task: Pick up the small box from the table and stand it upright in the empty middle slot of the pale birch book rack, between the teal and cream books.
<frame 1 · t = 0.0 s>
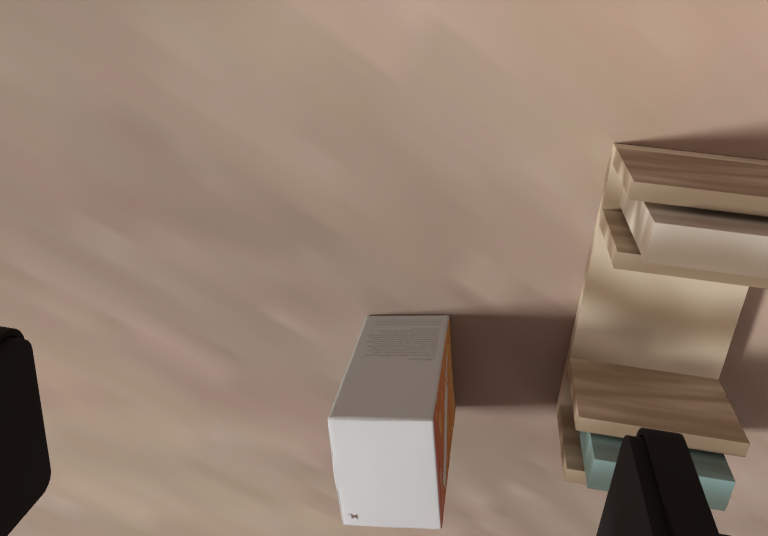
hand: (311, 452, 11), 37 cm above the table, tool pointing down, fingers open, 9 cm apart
small box: (412, 359, 53), on the table
book rack: (657, 296, 48), on the table
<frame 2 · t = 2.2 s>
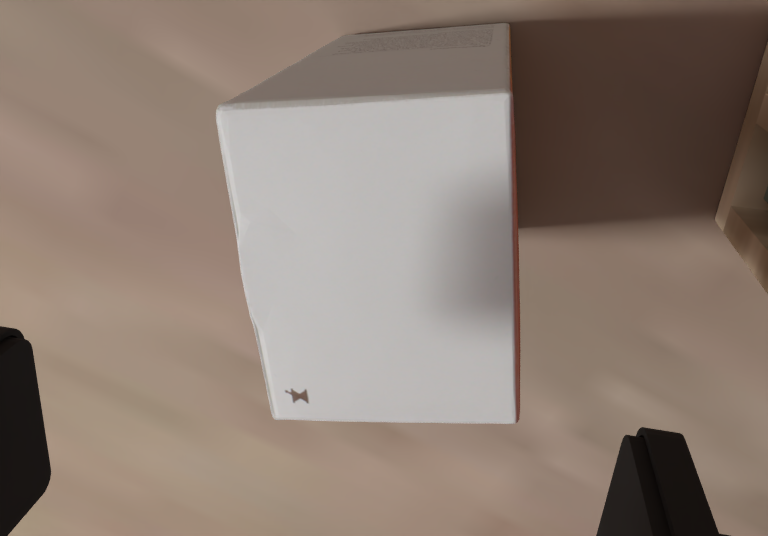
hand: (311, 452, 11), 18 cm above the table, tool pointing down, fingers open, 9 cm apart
small box: (433, 133, 28), on the table
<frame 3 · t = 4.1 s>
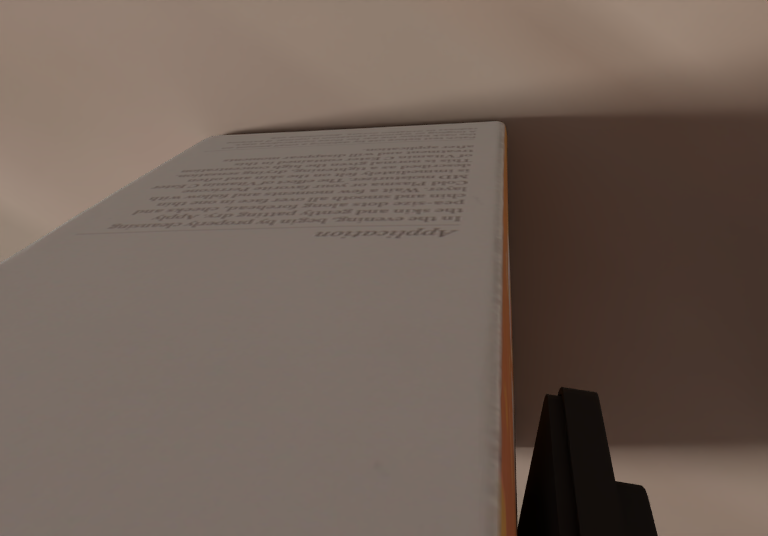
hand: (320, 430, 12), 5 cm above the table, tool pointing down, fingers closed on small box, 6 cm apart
small box: (374, 295, 16), on the table, touching gripper
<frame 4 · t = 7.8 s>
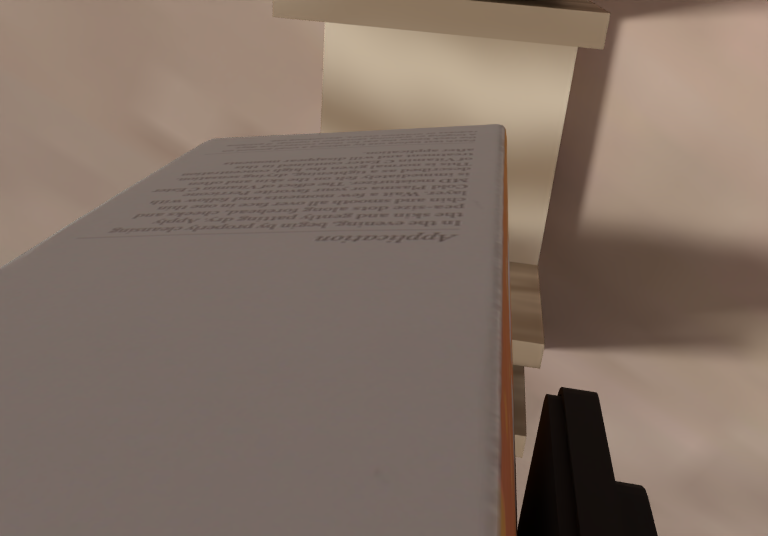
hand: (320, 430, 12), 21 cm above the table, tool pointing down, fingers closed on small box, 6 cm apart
small box: (374, 298, 16), point 16 cm above the table, touching gripper
book rack: (439, 133, 31), on the table
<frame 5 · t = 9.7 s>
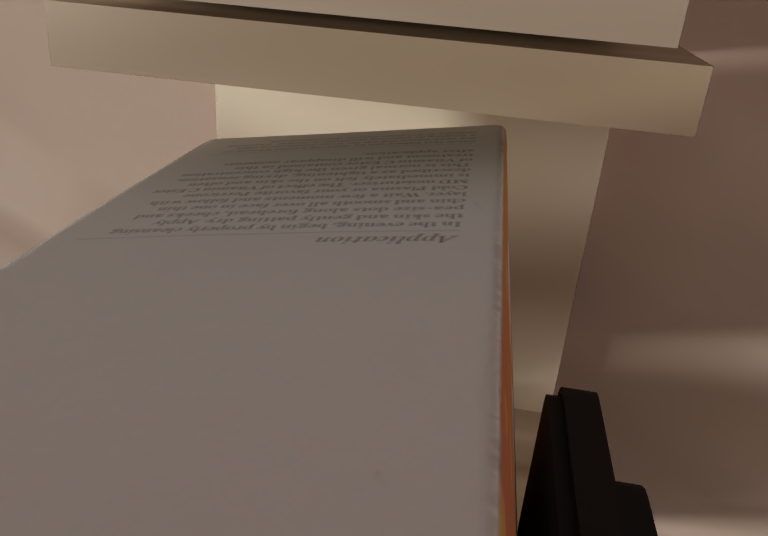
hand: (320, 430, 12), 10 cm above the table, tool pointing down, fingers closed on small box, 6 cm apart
small box: (374, 298, 16), point 5 cm above the table, touching gripper
book rack: (401, 219, 20), on the table
when the fingers open (7 cm above the table, at t = 11.3 s): small box drops 1 cm, resting on book rack.
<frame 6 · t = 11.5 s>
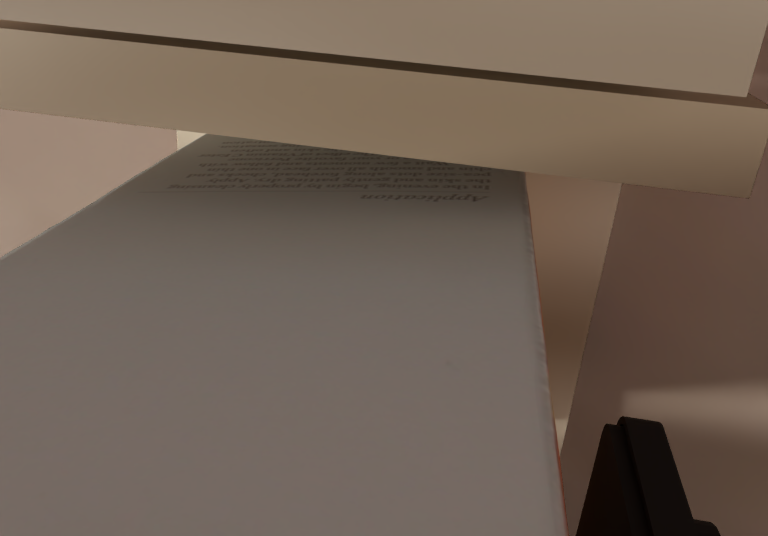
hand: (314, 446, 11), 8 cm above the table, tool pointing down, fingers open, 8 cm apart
small box: (387, 270, 17), point 1 cm above the table, touching book rack
book rack: (388, 258, 18), on the table
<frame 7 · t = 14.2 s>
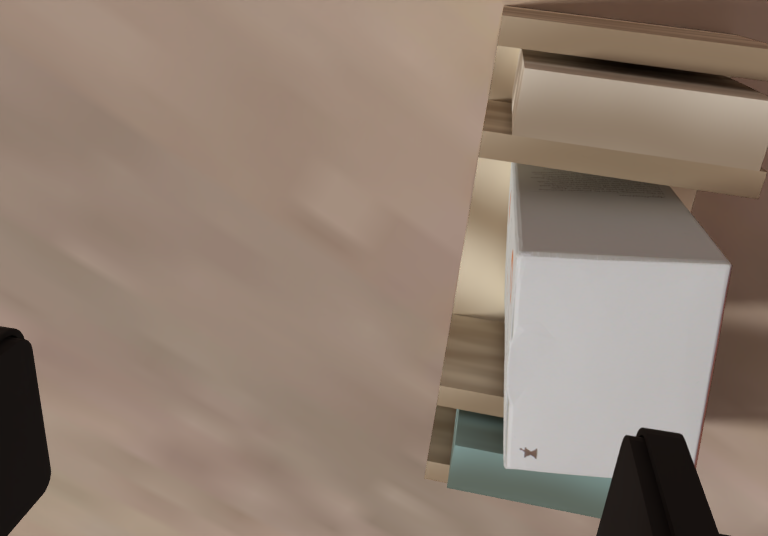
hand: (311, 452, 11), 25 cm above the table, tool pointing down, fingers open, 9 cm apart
small box: (573, 236, 34), point 1 cm above the table, touching book rack
book rack: (568, 231, 35), on the table
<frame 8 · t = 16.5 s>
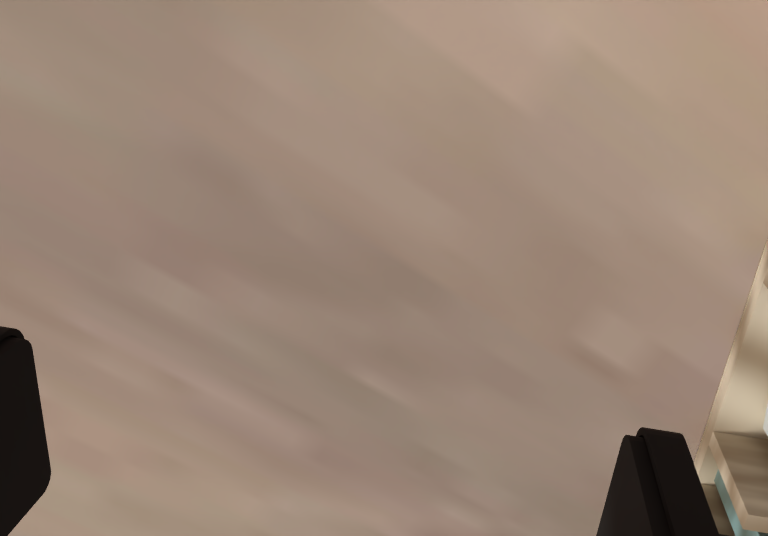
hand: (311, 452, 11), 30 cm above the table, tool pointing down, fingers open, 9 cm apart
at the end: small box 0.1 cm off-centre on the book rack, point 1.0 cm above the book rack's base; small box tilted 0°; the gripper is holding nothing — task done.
